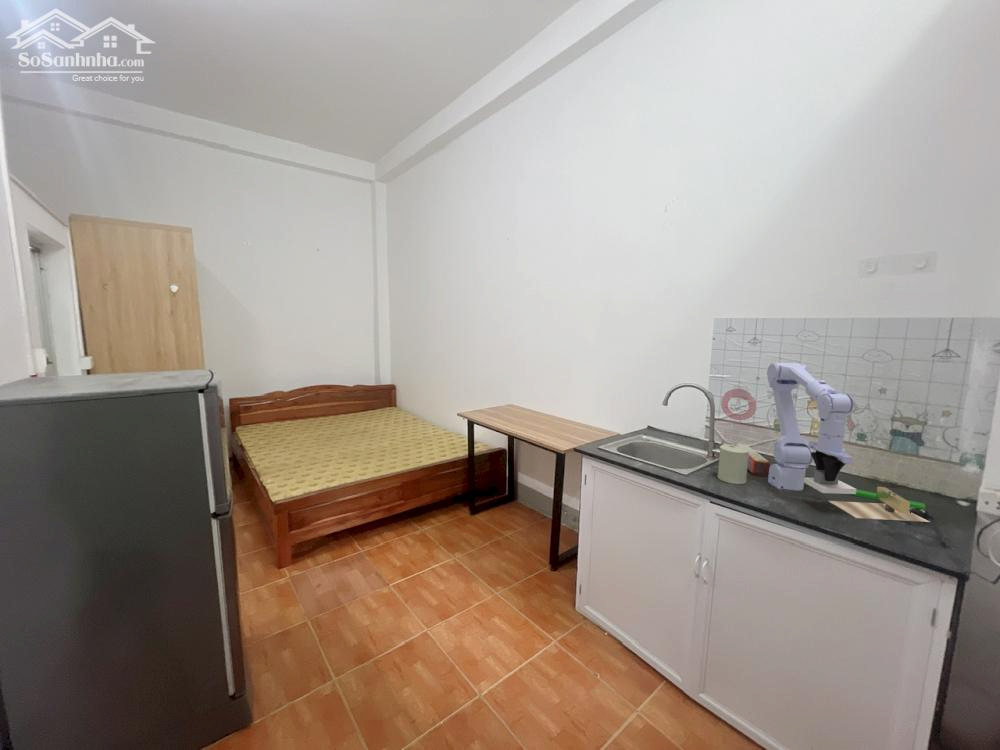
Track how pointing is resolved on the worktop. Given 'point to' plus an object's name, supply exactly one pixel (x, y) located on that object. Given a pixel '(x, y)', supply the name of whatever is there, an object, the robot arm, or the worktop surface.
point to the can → (733, 464)
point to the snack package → (756, 462)
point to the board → (875, 511)
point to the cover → (828, 484)
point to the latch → (893, 500)
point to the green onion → (873, 496)
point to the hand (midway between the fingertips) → (825, 478)
